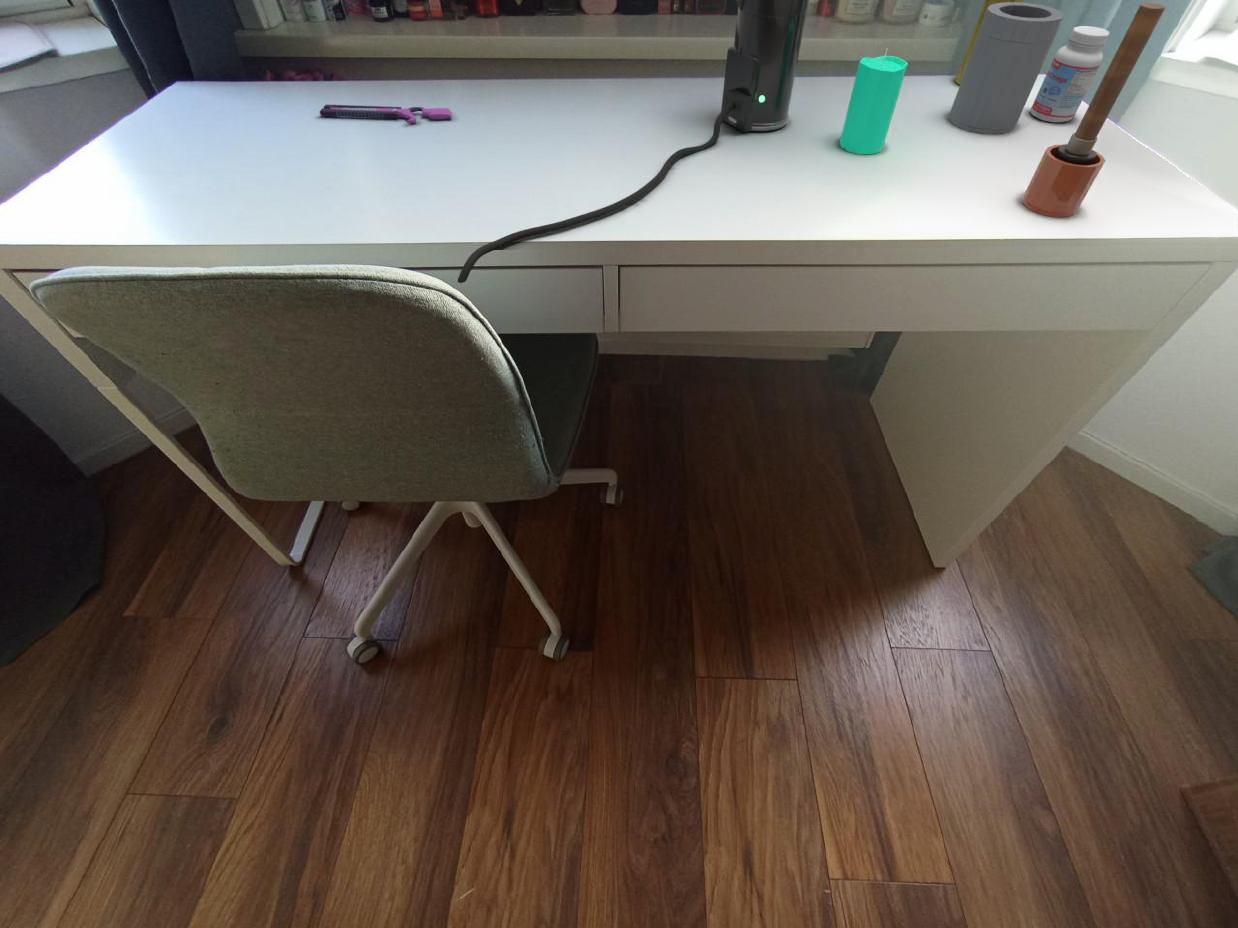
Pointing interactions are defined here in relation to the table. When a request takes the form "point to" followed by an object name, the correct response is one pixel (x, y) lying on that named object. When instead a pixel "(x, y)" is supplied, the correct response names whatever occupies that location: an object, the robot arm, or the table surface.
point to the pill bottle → (1070, 75)
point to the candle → (872, 103)
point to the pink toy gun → (383, 112)
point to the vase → (988, 1)
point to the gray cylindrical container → (1004, 66)
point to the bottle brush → (1111, 86)
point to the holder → (1060, 185)
